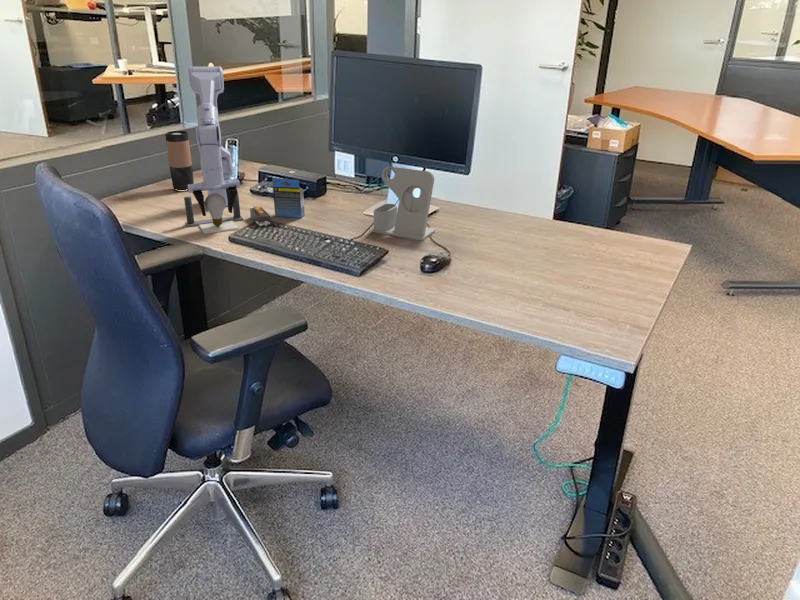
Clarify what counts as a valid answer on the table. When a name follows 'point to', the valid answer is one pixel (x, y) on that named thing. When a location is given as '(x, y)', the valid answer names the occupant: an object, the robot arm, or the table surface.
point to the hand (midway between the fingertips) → (217, 213)
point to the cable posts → (191, 221)
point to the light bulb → (215, 207)
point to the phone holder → (406, 205)
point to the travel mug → (179, 159)
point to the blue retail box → (288, 198)
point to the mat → (218, 227)
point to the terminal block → (259, 214)
